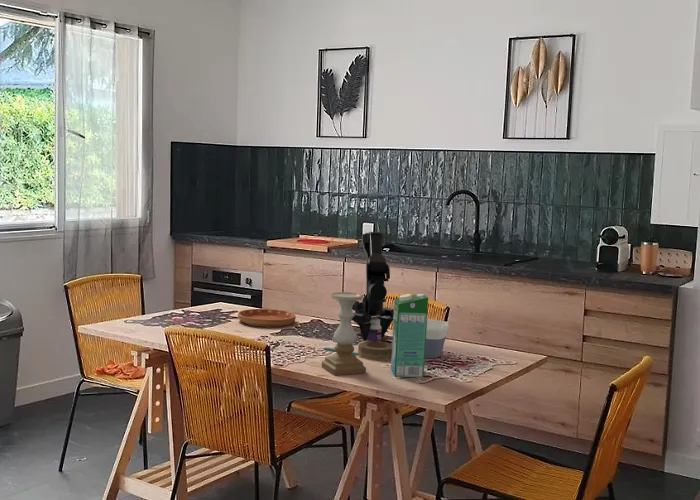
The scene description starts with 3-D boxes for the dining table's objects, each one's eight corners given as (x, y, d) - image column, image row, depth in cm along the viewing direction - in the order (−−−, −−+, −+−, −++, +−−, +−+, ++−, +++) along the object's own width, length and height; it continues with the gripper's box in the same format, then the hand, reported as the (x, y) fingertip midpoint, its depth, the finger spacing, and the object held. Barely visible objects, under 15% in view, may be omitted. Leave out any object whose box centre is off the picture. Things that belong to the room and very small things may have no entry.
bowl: (450, 352, 284) (452, 321, 283) (441, 362, 270) (443, 329, 268) (408, 347, 289) (410, 316, 288) (396, 356, 275) (398, 324, 273)
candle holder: (333, 375, 246) (337, 298, 243) (320, 366, 256) (324, 292, 253) (366, 373, 250) (370, 297, 248) (352, 364, 260) (356, 291, 258)
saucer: (264, 314, 337) (264, 306, 337) (307, 323, 324) (307, 314, 323) (225, 322, 319) (225, 312, 318) (269, 331, 305) (269, 321, 305)
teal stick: (361, 355, 274) (361, 353, 274) (360, 355, 273) (360, 353, 273) (325, 349, 280) (325, 347, 280) (324, 349, 279) (324, 347, 279)
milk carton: (390, 369, 257) (394, 291, 254) (418, 369, 258) (423, 292, 255) (394, 376, 248) (399, 296, 245) (423, 377, 249) (428, 297, 246)
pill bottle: (379, 348, 285) (380, 321, 284) (364, 347, 286) (365, 319, 285) (381, 345, 290) (383, 318, 289) (366, 343, 291) (368, 317, 290)
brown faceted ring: (374, 349, 283) (374, 339, 282) (401, 356, 275) (401, 346, 274) (351, 354, 274) (351, 344, 273) (378, 361, 266) (379, 351, 265)
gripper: (375, 290, 299) (373, 331, 300) (341, 294, 285) (339, 338, 286) (398, 294, 291) (396, 337, 293) (364, 299, 277) (362, 344, 279)
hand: (373, 338), depth 288 cm, fingers open, 9 cm apart
